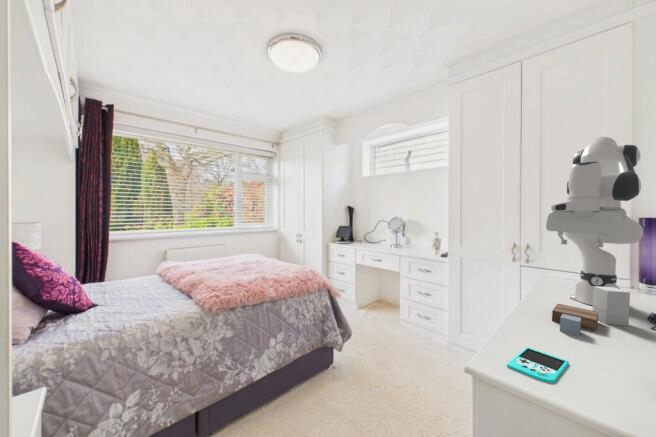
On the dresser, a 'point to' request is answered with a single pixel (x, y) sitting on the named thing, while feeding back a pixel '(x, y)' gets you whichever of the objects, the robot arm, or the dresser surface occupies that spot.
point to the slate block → (570, 324)
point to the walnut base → (577, 315)
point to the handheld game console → (538, 365)
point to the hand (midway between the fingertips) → (581, 245)
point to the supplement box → (611, 305)
